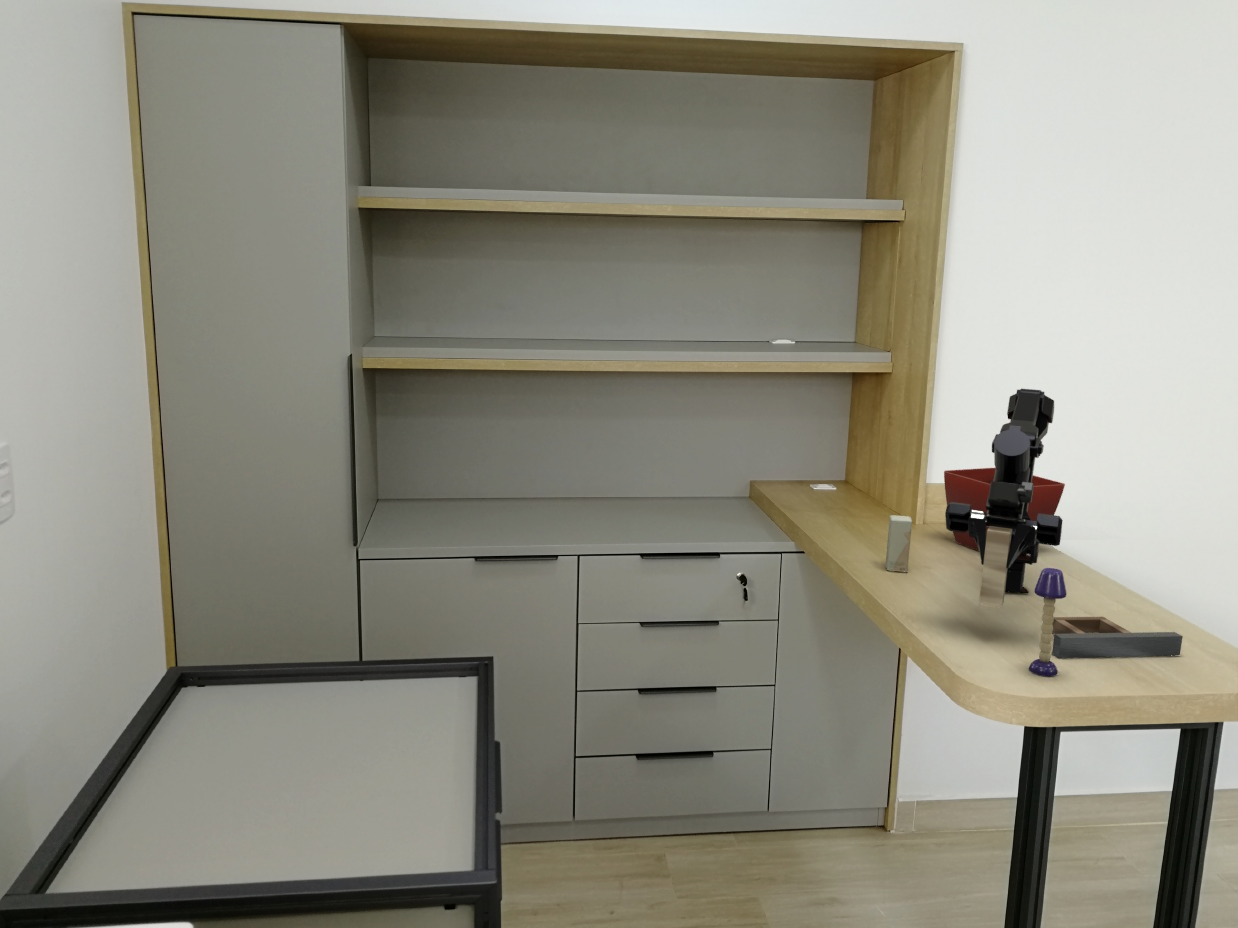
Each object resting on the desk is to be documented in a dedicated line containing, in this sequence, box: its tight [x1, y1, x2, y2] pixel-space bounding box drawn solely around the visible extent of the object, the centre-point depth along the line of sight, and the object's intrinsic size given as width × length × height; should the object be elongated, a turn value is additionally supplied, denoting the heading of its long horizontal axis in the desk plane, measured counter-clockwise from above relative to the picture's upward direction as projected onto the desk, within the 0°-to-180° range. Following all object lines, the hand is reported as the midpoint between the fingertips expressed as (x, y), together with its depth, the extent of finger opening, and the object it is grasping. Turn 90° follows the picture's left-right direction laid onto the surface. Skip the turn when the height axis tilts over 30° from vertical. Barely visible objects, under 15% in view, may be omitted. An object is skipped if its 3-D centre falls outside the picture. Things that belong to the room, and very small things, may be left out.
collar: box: [1051, 616, 1132, 634], centre depth 178 cm, size 10×10×2 cm
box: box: [885, 514, 913, 573], centre depth 216 cm, size 5×4×11 cm
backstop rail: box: [1051, 631, 1183, 659], centre depth 171 cm, size 2×22×4 cm, turn 98°
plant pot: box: [943, 467, 1066, 552], centre depth 235 cm, size 19×19×17 cm
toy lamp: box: [1028, 567, 1067, 677], centre depth 162 cm, size 5×5×17 cm
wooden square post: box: [978, 526, 1012, 609], centre depth 175 cm, size 4×4×13 cm
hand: (995, 565), depth 173 cm, fingers closed on wooden square post, 4 cm apart
